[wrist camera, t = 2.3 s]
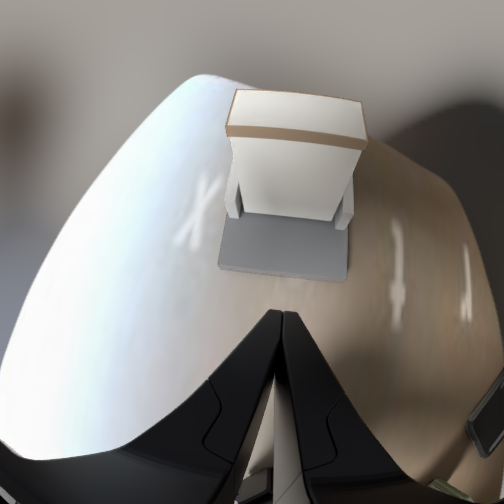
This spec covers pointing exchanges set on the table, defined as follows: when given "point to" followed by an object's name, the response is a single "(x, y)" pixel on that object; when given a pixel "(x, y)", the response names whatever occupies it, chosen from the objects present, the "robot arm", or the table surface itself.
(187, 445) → the robot arm
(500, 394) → the phone
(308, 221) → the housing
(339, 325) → the table surface
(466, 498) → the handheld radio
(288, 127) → the white box
